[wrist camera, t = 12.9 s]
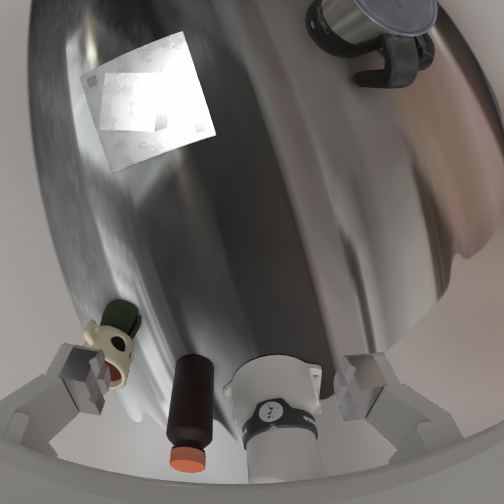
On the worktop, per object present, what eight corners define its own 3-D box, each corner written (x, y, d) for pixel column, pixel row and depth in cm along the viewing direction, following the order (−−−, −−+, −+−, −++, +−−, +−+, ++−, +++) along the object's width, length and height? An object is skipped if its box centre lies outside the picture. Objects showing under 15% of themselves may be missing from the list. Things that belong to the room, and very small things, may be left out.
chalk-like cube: (171, 78, 31) (161, 73, 26) (165, 128, 34) (153, 131, 29) (123, 77, 30) (105, 73, 25) (117, 125, 33) (99, 129, 28)
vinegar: (168, 365, 51) (153, 463, 33) (192, 347, 50) (182, 452, 32) (197, 383, 54) (191, 478, 36) (222, 367, 52) (222, 467, 34)
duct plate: (216, 134, 35) (214, 137, 32) (113, 172, 36) (102, 179, 33) (183, 32, 29) (178, 23, 25) (81, 76, 30) (67, 75, 26)
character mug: (156, 336, 48) (141, 397, 36) (120, 341, 48) (100, 399, 37) (128, 281, 43) (101, 339, 32) (91, 290, 44) (58, 345, 32)
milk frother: (289, 8, 28) (322, -40, 15) (384, -24, 25) (443, -60, 12) (349, 101, 34) (411, 103, 21) (433, 61, 31) (507, 57, 18)
